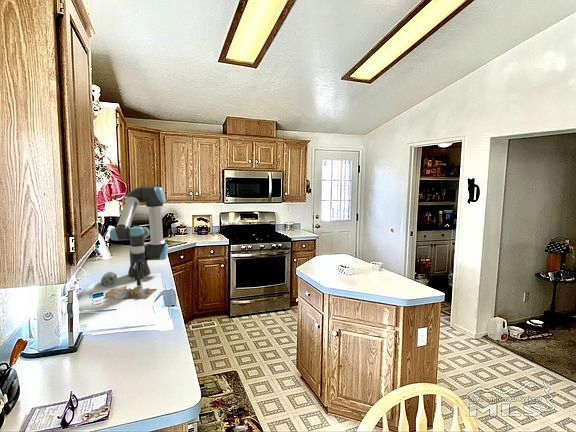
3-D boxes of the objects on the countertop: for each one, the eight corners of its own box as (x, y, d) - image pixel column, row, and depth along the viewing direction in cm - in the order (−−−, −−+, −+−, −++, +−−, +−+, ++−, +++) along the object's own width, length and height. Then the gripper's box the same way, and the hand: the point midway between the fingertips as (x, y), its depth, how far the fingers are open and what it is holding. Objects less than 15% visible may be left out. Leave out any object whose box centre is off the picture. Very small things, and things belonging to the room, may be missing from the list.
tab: (136, 293, 215) (135, 287, 214) (142, 293, 215) (142, 287, 214) (132, 296, 210) (132, 289, 209) (139, 296, 210) (138, 289, 209)
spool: (115, 282, 228) (108, 269, 229) (102, 290, 227) (94, 276, 227) (122, 281, 242) (116, 268, 242) (109, 288, 240) (102, 276, 241)
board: (112, 290, 223) (112, 288, 223) (157, 290, 223) (157, 288, 223) (96, 300, 205) (96, 298, 205) (146, 300, 205) (146, 299, 205)
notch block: (129, 293, 214) (129, 287, 214) (149, 293, 214) (149, 287, 214) (123, 298, 206) (122, 292, 206) (143, 298, 206) (143, 292, 206)
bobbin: (117, 294, 212) (117, 285, 211) (129, 294, 212) (128, 285, 211) (112, 299, 205) (111, 289, 204) (123, 299, 205) (123, 289, 204)
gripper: (136, 250, 219) (138, 286, 222) (126, 254, 206) (129, 293, 209) (148, 250, 219) (150, 286, 221) (139, 254, 206) (141, 293, 209)
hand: (139, 290), depth 215 cm, fingers closed
